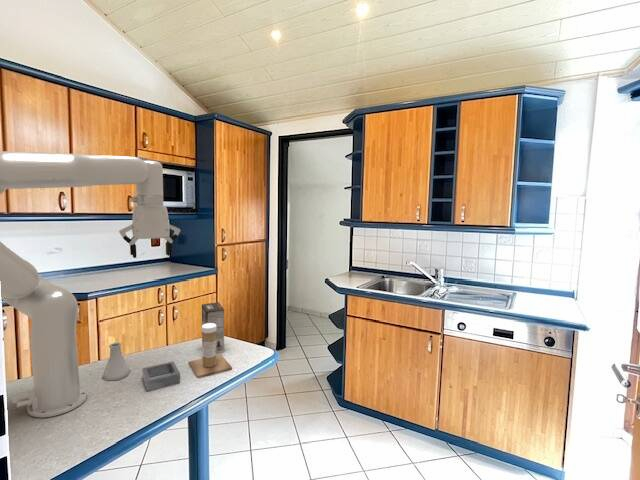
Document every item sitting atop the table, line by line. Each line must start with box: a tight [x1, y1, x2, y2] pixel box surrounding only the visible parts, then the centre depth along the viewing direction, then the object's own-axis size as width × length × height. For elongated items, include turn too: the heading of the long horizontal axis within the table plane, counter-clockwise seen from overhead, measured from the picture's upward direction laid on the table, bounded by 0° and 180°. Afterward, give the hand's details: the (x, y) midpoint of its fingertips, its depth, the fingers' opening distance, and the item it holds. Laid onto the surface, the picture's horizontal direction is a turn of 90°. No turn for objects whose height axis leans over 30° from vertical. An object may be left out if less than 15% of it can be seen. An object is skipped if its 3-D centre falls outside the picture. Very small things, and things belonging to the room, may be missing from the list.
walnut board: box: [187, 353, 233, 379], centre depth 115 cm, size 11×11×1 cm
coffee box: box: [201, 301, 225, 354], centre depth 128 cm, size 9×6×16 cm
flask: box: [101, 342, 131, 382], centre depth 108 cm, size 7×7×10 cm
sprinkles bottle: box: [201, 323, 217, 367], centre depth 114 cm, size 5×5×14 cm
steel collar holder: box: [141, 361, 181, 392], centre depth 106 cm, size 9×9×3 cm
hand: (151, 256), depth 111 cm, fingers open, 9 cm apart
